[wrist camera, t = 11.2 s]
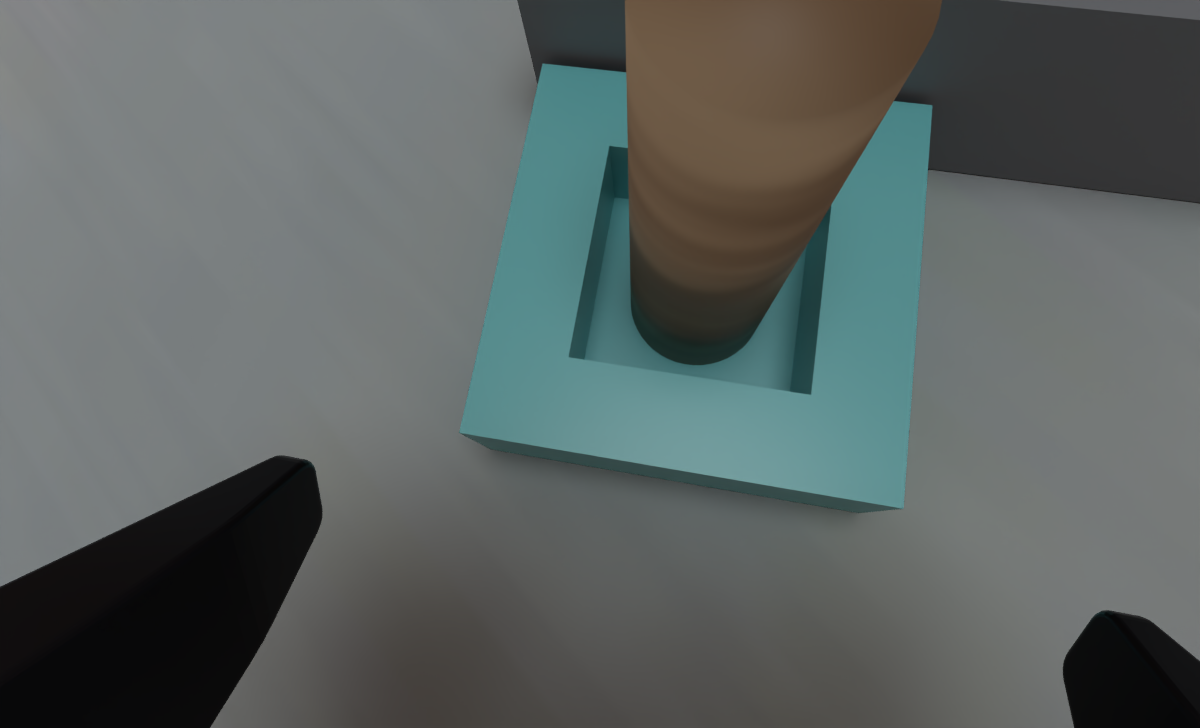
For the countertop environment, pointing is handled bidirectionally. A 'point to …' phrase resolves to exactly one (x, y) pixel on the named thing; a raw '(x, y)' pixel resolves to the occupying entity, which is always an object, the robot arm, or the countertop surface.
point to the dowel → (746, 148)
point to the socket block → (713, 391)
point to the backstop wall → (1008, 86)
